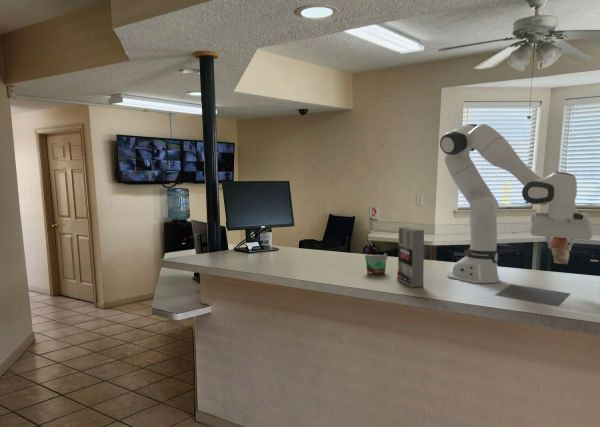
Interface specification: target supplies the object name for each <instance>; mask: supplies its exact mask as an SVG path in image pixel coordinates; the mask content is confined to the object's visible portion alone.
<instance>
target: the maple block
mask: <svg viewBox="0 0 600 427" xmlns="http://www.w3.org/2000/svg"><path fill="white" fill-rule="evenodd" d="M566 245H569V243H568V238H557V237H552V239H551V248H550V249H551V253H552V257H553V258H552V259H553V263H554V264H560V265H561V264H562V265H568V263H569V259H570V250H566Z"/></svg>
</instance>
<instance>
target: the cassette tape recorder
mask: <svg viewBox="0 0 600 427" xmlns="http://www.w3.org/2000/svg"><path fill="white" fill-rule="evenodd" d="M397 236H398V237H397V238H398V243H397V244H398V247H397V248H398V251H397V252H398V253H397V260H398V262H397V263H398V264H397V265H398V267H397V277H396V280H397V281H398V282H400V283H402V284H404V285H406V286H408V287H409V288H412V289H413V288H423V287H424V286H425V284H424V267H425V266H424V265H425V264H424V262H425V261H424V258H425V257H424V255H425V254H424V253H425V252H424V251H425V250H424V249H425V248H424V247H425V246H424V245H425V243H424V242H425V239H424V238H425V229H420V228H416V227H413V226H398V235H397Z"/></svg>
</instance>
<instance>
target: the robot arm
mask: <svg viewBox="0 0 600 427" xmlns="http://www.w3.org/2000/svg"><path fill="white" fill-rule="evenodd" d="M439 147H440V149H441V151H442V152H443V153H444V154H445V156H444V162H445V165H446V168H447V170H448V172H449V174H450V176H451V178H452V180H453V181H454V183H455V185H456V187H457V189H458V191H460V193H461V194H462V196H463V197H464V198H465V200H466V201H467V203H468V204H469V228H470V241H469V242H470V246H469V248H467V249H466V250H465V251H464V254H465V256H464V257H462V258H461V259H459V260H457V261H456V262H455V263H454V265H453V267H452V271H450V272H449V273H447V275H446V276H447V278H450V279H453V280H458V281H462V282H468V283H473V284H494V283H499V282H500V281H501V280H500V276H499V273H498V272H499V271H498V260H499V259H498V258H499V253H498V249H497V246H498V245H497V242H498V241H497V239H498V228H497V227H498V226H497V225H498V224H497V223H498V222H497V213H498V210H499V206H500V205H499V202H498V200H497V199H496V197H495V196H494V194H493V192H492V191H491V189H490V188H489V186H488V185H487V183H486V182H485V180H484V178H482V175H481V174H480V172H479V171H478V169H477V167H476V165H475V164H474V162H473V160H472V159H471V155H470V153H471V152H474V151H475V150H476V151H477V152H478V153H479V155H480V156H481V157H482V158H484V159H483V160H486V161H487V162H488V163H489V164H491V165H492V166H494V167H497V168H499V169H502V170H505V171H507V172H508V173H510V174H511V175H513V176H514V178H516V180H518V181H519V182H520V183H521V184H522V185H523V188H522V190H521V196H522V198H523V199H524V201H525V202H527V203H528V204H531V205H543V206H544V205H548V211H547V212H535V213H533V214H532V215H531V216H530V218H531V220H530V222H531V227H530V234H531V235H532V236H534V237H535V236H536V237H545V241H546V243H547V244H548V246H547V248H548V249H551V243H552V241H551V240H552V238H553V237H557V238H567V240H568V239H569V242H570V243H569V244H568V245H566V250H569V251H571V250H572V246H573V245H574V243H575V242H576V240H581V241H583V240H584V241H590V240H592V239H593V237H594V236H593V223H592V222H591V221H590V215H591V214H589V213H586V212H583V211H580V210H577V206H576V198H577V195H578V193H577V192H578V185H577V184H578V182H577V178H576V176H575V175H574V174H572V173H568V172H562V171H554V172H552V173H550V174H549V175H546V176H545V177H539V175H537V174H536V173H535V172H534V171H533V170H532V169H531V168H530V167H529V166H528V165H527V164H525V162H524V161H523V160H522V158H520V157H519V155H518V154H517V152H516V151H515V149H514V148H513V147H512V145H511V144H510V143H509V142H508V141H507V139H506V138H505V137H503V135H502V134H501V133H499V132H498V131H497V130H496V129H494V128H493V127H492V126H490V125H489V124H486V123H481V124H475V123H470V124H467V125H463V126H458V127H456V128H455V129H453V130H450V131H447V132H446V133H444V134H443V135H442V136H441V138H440V141H439Z"/></svg>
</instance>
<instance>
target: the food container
mask: <svg viewBox="0 0 600 427" xmlns="http://www.w3.org/2000/svg"><path fill="white" fill-rule="evenodd" d="M364 259H365V264H366V274H367V275H368V276H373V275H374V276H375V277H376V276H377V277H378V276H384V275H385V274H386V266H387V260H388V259H389V256H388V254H387V253H386V252H384V254H373V255H371V254H370V255H369V254H365V256H364Z"/></svg>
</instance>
